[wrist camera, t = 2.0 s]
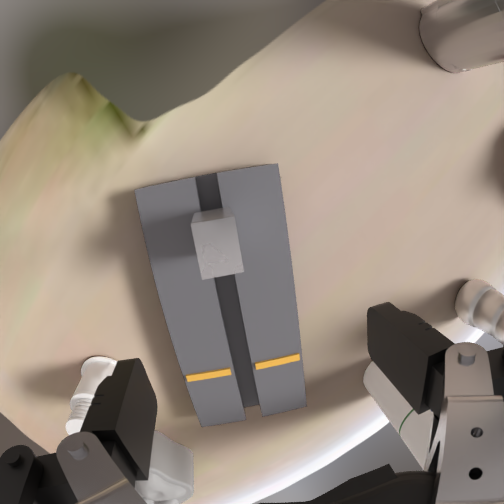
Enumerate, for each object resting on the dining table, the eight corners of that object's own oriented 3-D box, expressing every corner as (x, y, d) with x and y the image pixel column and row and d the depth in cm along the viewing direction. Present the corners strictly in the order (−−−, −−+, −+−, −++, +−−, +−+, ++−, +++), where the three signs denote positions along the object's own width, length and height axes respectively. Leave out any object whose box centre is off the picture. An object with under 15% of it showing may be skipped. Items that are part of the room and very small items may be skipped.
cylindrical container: (404, 381, 41) (501, 494, 17) (363, 397, 40) (450, 530, 16) (408, 343, 39) (526, 458, 15) (363, 359, 38) (471, 501, 14)
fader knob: (195, 208, 30) (190, 224, 21) (226, 203, 30) (234, 216, 22) (203, 249, 31) (202, 279, 22) (233, 243, 31) (244, 271, 23)
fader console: (141, 187, 30) (133, 189, 27) (271, 164, 31) (278, 163, 28) (201, 411, 37) (201, 428, 34) (300, 391, 38) (307, 407, 35)
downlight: (90, 342, 33) (61, 396, 23) (143, 369, 35) (127, 429, 25) (76, 384, 34) (51, 437, 25) (123, 407, 36) (108, 464, 27)
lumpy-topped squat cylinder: (202, 455, 40) (205, 500, 31) (153, 485, 41) (150, 525, 32) (144, 422, 37) (136, 469, 28) (100, 456, 38) (90, 497, 30)
